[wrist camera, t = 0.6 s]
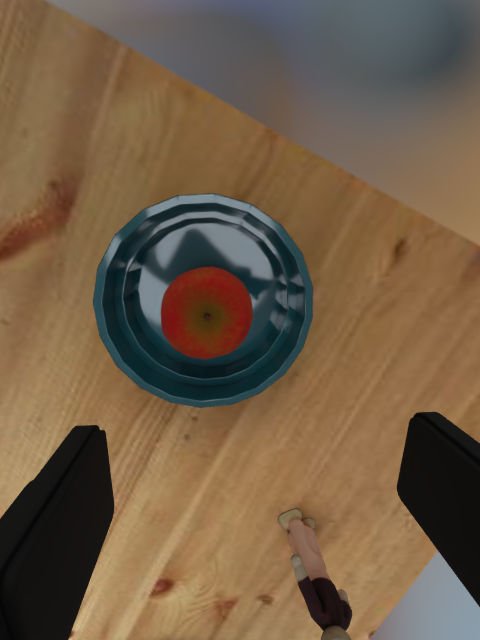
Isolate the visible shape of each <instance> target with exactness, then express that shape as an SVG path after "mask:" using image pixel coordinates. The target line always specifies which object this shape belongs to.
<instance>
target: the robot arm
mask: <svg viewBox="0 0 480 640" xmlns="http://www.w3.org/2000/svg"><path fill="white" fill-rule="evenodd" d="M397 492H398V495H399V497H400V499H401V501H402V502H403V503H404V505H405V506H406V507H407V509H408V510H409V512H410V513H411V514H412V516H413V517H414V518H415V520H416V521H417V522H418V524H419V525H420V526H421V528H422V529H423V531H424V532H425V533H426V535H427V536H428V537H429V539H430V540H431V541H432V543H433V544H434V546H435V547H436V548H437V550H438V551H439V552H440V554H441V555H442V556H443V558H444V559H445V560H446V562H447V563H448V565H449V566H450V567H451V569H452V570H453V571H454V573H455V574H456V575H457V577H458V578H459V580H460V581H461V582H462V584H463V585H464V586H465V588H466V589H467V590H468V592H469V593H470V594H471V596H472V597H473V598H474V600H475V601H476V603H477V604H478V605H479V607H480V443H478V442H477V441H476V440H474V439H473V438H472V437H470V436H469V435H468V434H466V433H465V432H464V431H462V430H461V429H460V428H458V427H457V426H456V425H454V424H453V423H452V422H450V421H449V420H448V419H446V418H445V417H444V416H442V415H441V414H439V413H437V412H418V413H416V414H415V415H414V417H413V418H411V419H410V422H409V426H408V431H407V437H406V442H405V447H404V452H403V457H402V462H401V468H400V473H399V478H398V483H397ZM113 514H114V498H113V490H112V481H111V473H110V464H109V456H108V448H107V439H106V433H105V431H104V430H100V429H99V427H98V426H97V425H86V426H75V427H74V428H73V429H72V430H71V432H70V433H69V434H68V435H67V437H66V438H65V439H64V441H63V442H62V443H61V445H60V446H59V447H58V449H57V450H56V451H55V453H54V454H53V455H52V457H51V458H50V459H49V460H48V462H47V463H46V464H45V466H44V467H43V468H42V470H41V471H40V472H39V474H38V475H37V476H36V478H35V479H34V480H32V481H30V482H29V483H28V484H27V485H26V486H25V488H24V489H23V490H22V491H21V493H20V494H19V495H18V497H17V498H16V499H15V500H14V502H13V503H12V504H11V506H10V507H9V508H8V510H7V511H6V512H5V513H4V515H3V516H2V517H1V519H0V640H68V639H69V636H70V633H71V630H72V628H73V625H74V622H75V619H76V617H77V614H78V611H79V609H80V606H81V603H82V600H83V598H84V595H85V592H86V589H87V587H88V584H89V581H90V579H91V576H92V573H93V570H94V568H95V565H96V562H97V559H98V557H99V554H100V551H101V548H102V546H103V543H104V540H105V538H106V535H107V532H108V529H109V527H110V524H111V521H112V518H113Z"/></svg>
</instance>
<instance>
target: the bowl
mask: <svg viewBox="0 0 480 640" xmlns="http://www.w3.org/2000/svg"><path fill="white" fill-rule="evenodd" d="M210 266H213V267H217V268H220V269H224V270H226V271H228V272H229V273H231V274H232V275H234V276H236V277H237V278H238V279H239V280H240V281H241V282H242V283H243V284H244V286H245V287H246V289H247V291H248V292H249V295H250V297H251V301H252V310H253V320H252V323H251V326H250V329H249V332H248V334H247V336H246V337H245V339H244V341H243V342H242V344H241V345H240V346H239V347H238V348H237V349H235V350H234V351H233V352H231V353H229V354H226V355H222V356H218V357H214V358H210V359H206V360H205V359H199V358H192V357H189V356H186V355H184V354H183V353H181V352H179V351H178V350H176V349H174V348H173V347H172V346H171V344H170V343H169V341H168V340H167V338H166V337H165V335H164V333H163V332H162V327H161V313H160V311H161V304H162V299H163V296H164V293H165V291H166V290H167V288H168V287H169V285H170V284H171V283H172V282H173V281H174V280H175V279H176V278H177V277H178V276H179V275H181V274H183V273H185V272H187V271H189V270H193V269H196V268H200V267H210ZM93 305H94V310H95V315H96V320H97V325H98V330H99V335H100V338H101V340H102V341H103V343H104V345H105V347H106V348H107V350H108V352H109V354H110V355H111V357H112V359H113V361H114V362H115V364H116V365H117V367H118V368H119V369H121V370H122V371H123V372H124V373H125V374H126V375H127V376H128V377H129V378H130V379H131V380H132V381H133V382H135V383H136V384H137V385H138V386H139V387H140V388H142V389H144V390H146V391H148V392H150V393H152V394H154V395H156V396H158V397H160V398H162V399H164V400H166V401H168V402H171V403H177V404H182V405H188V406H194V407H199V408H203V407H213V406H222V405H231V404H235V403H237V402H240V401H242V400H244V399H247V398H249V397H252V396H254V395H257V394H259V393H260V392H262V391H264V390H265V389H266V388H268V387H269V386H270V385H271V384H273V383H274V382H275V381H276V380H278V379H279V378H280V377H282V376H283V375H284V374H285V373H286V372H287V370H288V369H289V367H290V366H291V365H292V363H293V362H294V360H295V359H296V358H297V356H298V355H299V353H300V352H301V350H302V349H303V346H304V343H305V340H306V337H307V334H308V331H309V328H310V325H311V322H312V318H313V286H312V282H311V279H310V276H309V273H308V269H307V266H306V263H305V260H304V257H303V254H302V252H301V251H300V250H299V248H298V247H297V245H296V244H295V243H294V241H293V240H292V239H291V237H290V236H289V234H288V233H287V232H286V230H285V229H284V228H283V226H282V225H281V224H279V223H278V222H277V221H275V220H274V219H272V218H271V217H269V216H268V215H267V214H265V213H264V212H262V211H261V210H259V209H258V208H257V207H255V206H254V205H251V204H250V203H247V202H243V201H240V200H236V199H233V198H229V197H226V196H223V195H219V194H215V193H213V194H194V195H178V196H175V197H172V198H170V199H167V200H165V201H163V202H160V203H158V204H155V205H153V206H150V207H148V208H146V209H143V210H141V211H140V212H139V213H138V214H137V215H136V216H135V217H134V218H133V219H132V220H131V221H129V222H128V223H127V224H126V225H125V226H124V227H123V228H122V229H121V230H120V231H118V232H117V233H116V234H115V236H114V237H113V239H112V241H111V243H110V245H109V247H108V249H107V251H106V253H105V255H104V256H103V258H102V260H101V262H100V264H99V266H98V269H97V276H96V284H95V291H94V298H93Z"/></svg>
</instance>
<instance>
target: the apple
mask: <svg viewBox="0 0 480 640" xmlns="http://www.w3.org/2000/svg"><path fill="white" fill-rule="evenodd" d="M160 313H161V327H162V332H163V333H164V335H165V337H166V338H167V340H168V341H169V343H170V344H171V346H172V347H173V348H174V349H176V350H178V351H179V352H181V353H183V354H184V355H186V356H189V357H192V358H199V359H205V360H206V359H210V358H214V357H218V356H222V355H226V354H229V353H231V352H233V351H234V350H235V349H237V348H238V347H239V346H240V345H241V344H242V342H243V341H244V339H245V337H246V336H247V334H248V332H249V329H250V326H251V323H252V320H253V310H252V301H251V297H250V295H249V292H248V291H247V289H246V287H245V286H244V284H243V283H242V282H241V281H240V280H239V279H238V278H237V277H236V276H234V275H232V274H231V273H229V272H228V271H226V270H224V269H220V268H217V267H213V266H210V267H200V268H196V269H193V270H189V271H187V272H185V273H183V274H181V275H179V276H178V277H177V278H176V279H175V280H174V281H173V282H172V283H171V284H170V285H169V287H168V288H167V290H166V291H165V293H164V296H163V299H162V304H161V311H160Z"/></svg>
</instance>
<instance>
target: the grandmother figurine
mask: <svg viewBox="0 0 480 640" xmlns="http://www.w3.org/2000/svg"><path fill="white" fill-rule="evenodd" d="M301 519H302V513H301V511H300V510H298V509H294V510H291V511H288V512H286V513H284V514H282V515H281V516H280V517H279V519H278V521H279V524H280V525H281V527H282V528H284V529H287V530H290V534H289V536H288V540H289V543H290V546H291V548H292V551H293V554H294V555H293V556H292V557H291V564H292V566H293V567H294V570H295V575H296V578H297V581H298V585H299V588H300V591H301V593H302V595H303V597H304V599H305V601H306V604H307V607H308V610H309V612H310V615H311V617H312V618H313V620H314V621H315V622H316V623H317V624H318V625H319V626H320V627H321V629H322V630H323V631H324V632H323V634H322V636H321V640H351V639H350V637H349V635H348V634H347V633H346V630H347V628H348V627H349V624H350V621H351V618H352V610H351V608H350V606H349V602H348V597H347V594H346V592H345V591H344V590H341V589H340V590H338V592H337V590H336V587H335V585H334V584H333V583H332V581H331V580H330V578H329V576H328V574H327V571H326V567H325V563H324V561H323V558H322V555H321V551H320V548H319V545H318V542H317V539H316V536H315V533H314V528H315V521H314V520H313V519H311V518H307V519H305V520H303V521H301Z"/></svg>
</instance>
